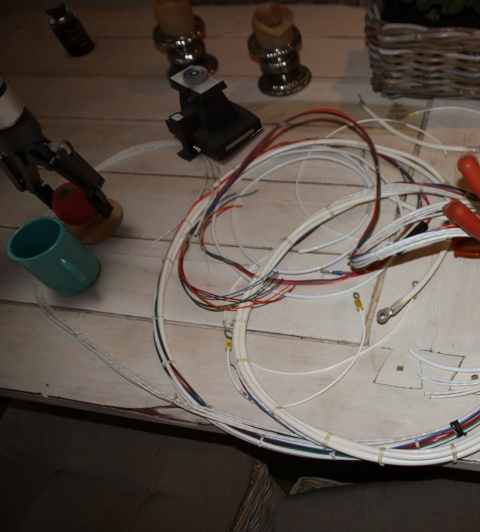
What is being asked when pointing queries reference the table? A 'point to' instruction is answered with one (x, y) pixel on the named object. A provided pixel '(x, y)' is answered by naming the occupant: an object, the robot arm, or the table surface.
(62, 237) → the cup
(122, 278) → the table surface
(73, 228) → the coaster
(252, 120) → the camera
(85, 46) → the supplement bottle
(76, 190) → the tomato
